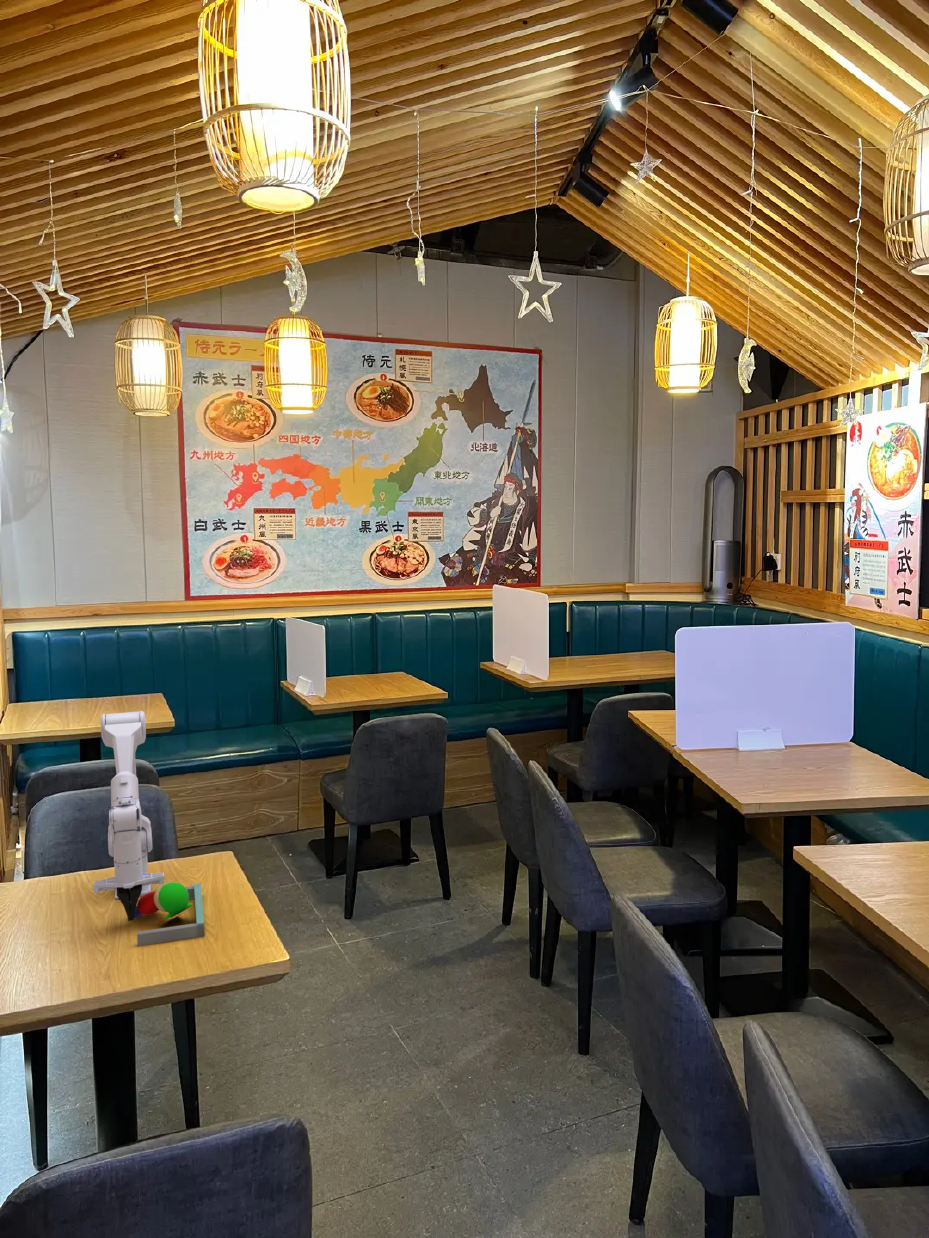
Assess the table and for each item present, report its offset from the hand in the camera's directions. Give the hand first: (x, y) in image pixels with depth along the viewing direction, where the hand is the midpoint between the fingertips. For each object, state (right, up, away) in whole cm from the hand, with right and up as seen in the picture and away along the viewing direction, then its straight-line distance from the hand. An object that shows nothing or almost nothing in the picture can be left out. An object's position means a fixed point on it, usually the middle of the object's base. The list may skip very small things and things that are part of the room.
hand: (131, 918), depth 199 cm
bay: (+7, -1, +2) cm, 8 cm away
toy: (+6, -1, +2) cm, 7 cm away
